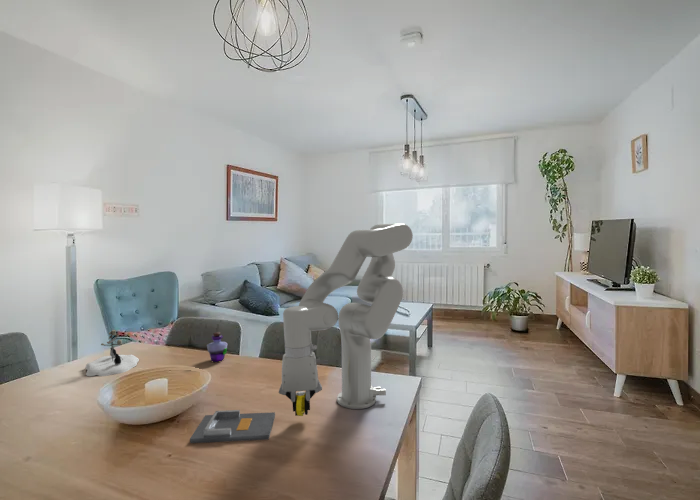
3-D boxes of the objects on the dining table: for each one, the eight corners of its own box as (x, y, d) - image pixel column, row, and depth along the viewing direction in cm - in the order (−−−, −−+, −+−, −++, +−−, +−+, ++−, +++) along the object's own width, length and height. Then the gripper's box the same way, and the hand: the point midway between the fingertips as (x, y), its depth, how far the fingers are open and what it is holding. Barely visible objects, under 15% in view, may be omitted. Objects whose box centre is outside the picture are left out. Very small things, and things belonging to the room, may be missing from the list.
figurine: (91, 360, 150) (89, 323, 148) (140, 355, 157) (139, 319, 155) (78, 382, 132) (76, 340, 130) (134, 375, 139) (133, 335, 137)
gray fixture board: (274, 416, 104) (274, 407, 104) (268, 439, 92) (268, 429, 92) (205, 419, 103) (205, 410, 103) (190, 443, 91) (189, 433, 91)
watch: (304, 419, 98) (302, 398, 98) (294, 419, 99) (293, 398, 98) (308, 408, 104) (307, 388, 104) (299, 408, 105) (298, 388, 104)
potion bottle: (226, 362, 149) (226, 334, 148) (205, 364, 147) (204, 335, 147) (229, 356, 157) (228, 329, 157) (208, 357, 156) (208, 330, 155)
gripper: (326, 344, 105) (329, 404, 106) (271, 347, 103) (275, 408, 105) (326, 353, 97) (329, 417, 98) (268, 357, 96) (271, 422, 97)
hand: (301, 412), depth 101 cm, fingers closed on watch, 2 cm apart
